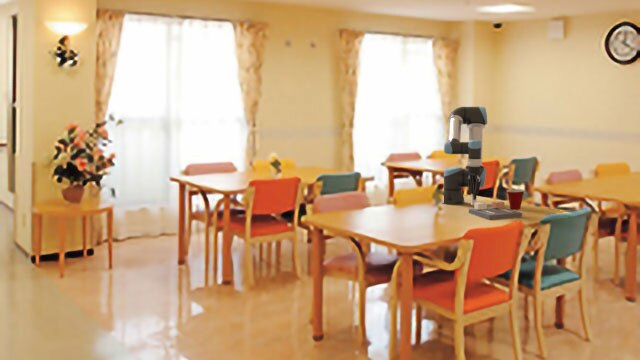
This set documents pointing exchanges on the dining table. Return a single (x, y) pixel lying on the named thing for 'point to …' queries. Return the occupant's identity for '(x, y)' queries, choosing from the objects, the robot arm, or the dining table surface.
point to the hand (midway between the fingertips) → (473, 204)
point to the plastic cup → (515, 198)
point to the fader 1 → (480, 205)
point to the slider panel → (495, 213)
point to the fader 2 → (498, 204)
